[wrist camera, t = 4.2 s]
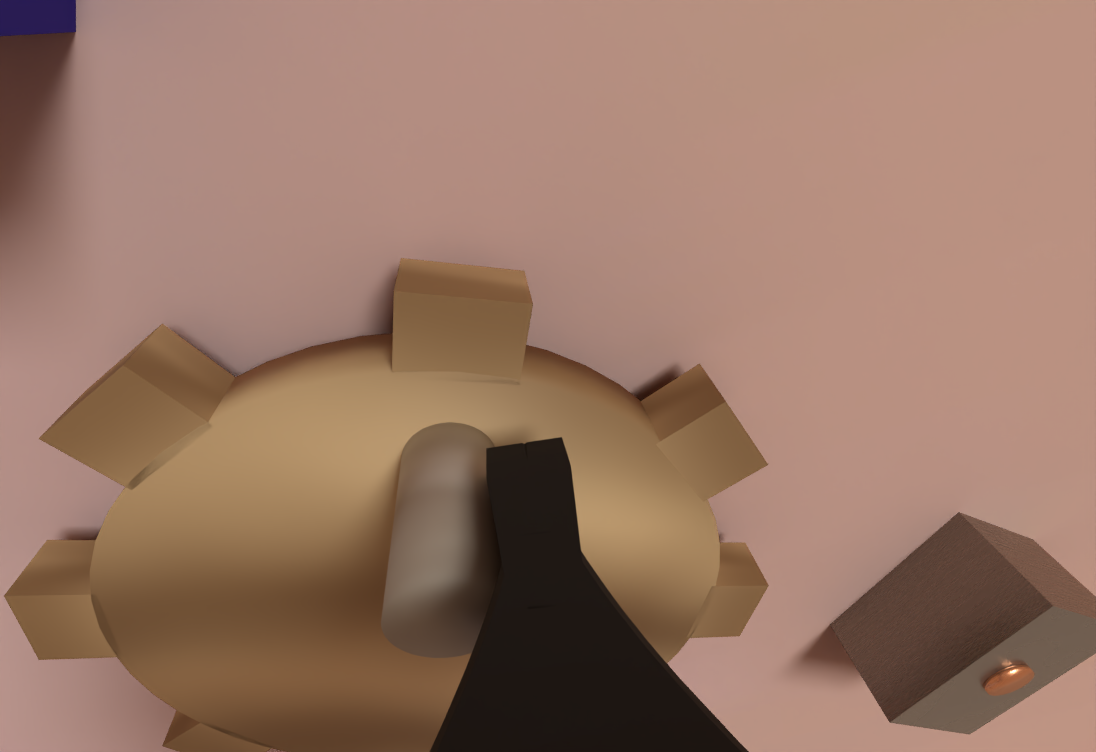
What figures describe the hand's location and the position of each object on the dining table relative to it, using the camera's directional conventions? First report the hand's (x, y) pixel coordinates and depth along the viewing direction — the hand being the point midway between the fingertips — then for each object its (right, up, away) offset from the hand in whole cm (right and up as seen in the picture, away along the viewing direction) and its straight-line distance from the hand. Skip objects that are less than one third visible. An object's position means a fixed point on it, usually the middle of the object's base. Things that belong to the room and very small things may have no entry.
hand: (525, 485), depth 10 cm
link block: (+14, -5, +10) cm, 18 cm away
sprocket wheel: (-3, -3, +5) cm, 6 cm away
